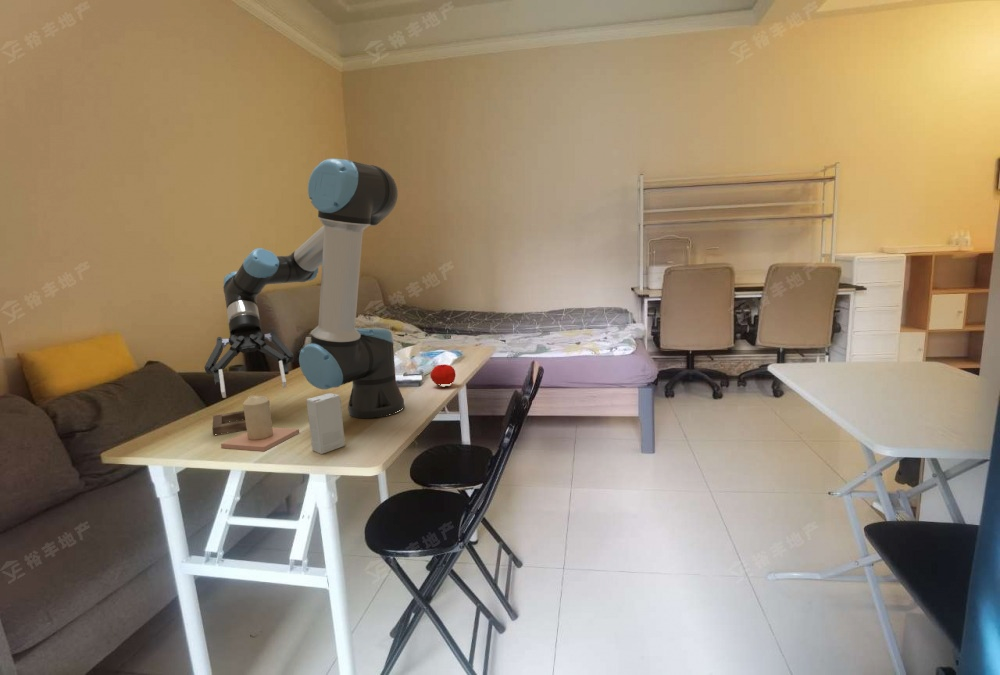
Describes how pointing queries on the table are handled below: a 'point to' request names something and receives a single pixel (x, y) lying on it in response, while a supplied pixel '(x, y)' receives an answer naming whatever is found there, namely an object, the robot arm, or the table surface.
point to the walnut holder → (228, 427)
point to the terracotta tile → (260, 440)
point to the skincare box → (325, 422)
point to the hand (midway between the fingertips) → (254, 389)
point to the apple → (443, 374)
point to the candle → (258, 417)
